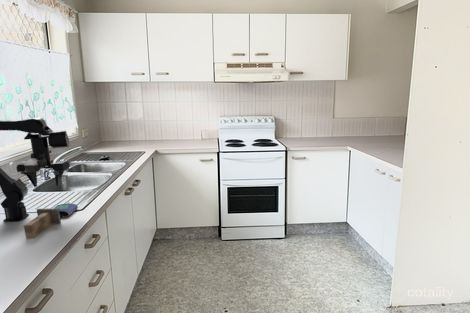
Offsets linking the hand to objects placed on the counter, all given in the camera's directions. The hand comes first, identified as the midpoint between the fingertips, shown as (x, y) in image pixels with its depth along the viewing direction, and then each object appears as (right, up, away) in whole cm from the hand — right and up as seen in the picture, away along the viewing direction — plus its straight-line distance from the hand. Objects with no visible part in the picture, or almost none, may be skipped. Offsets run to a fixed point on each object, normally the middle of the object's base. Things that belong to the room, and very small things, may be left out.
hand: (46, 186), depth 130 cm
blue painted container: (+5, -11, -2) cm, 13 cm away
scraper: (+5, -15, -13) cm, 20 cm away
